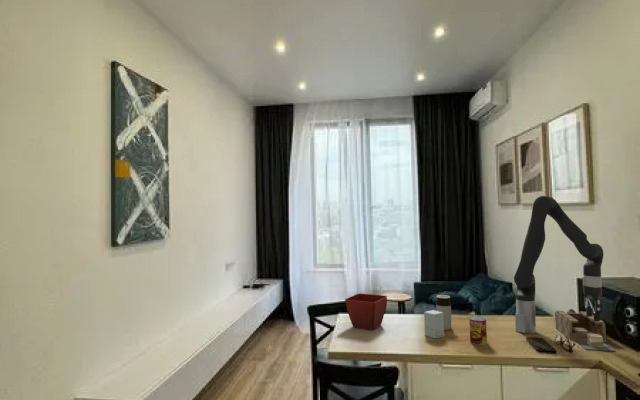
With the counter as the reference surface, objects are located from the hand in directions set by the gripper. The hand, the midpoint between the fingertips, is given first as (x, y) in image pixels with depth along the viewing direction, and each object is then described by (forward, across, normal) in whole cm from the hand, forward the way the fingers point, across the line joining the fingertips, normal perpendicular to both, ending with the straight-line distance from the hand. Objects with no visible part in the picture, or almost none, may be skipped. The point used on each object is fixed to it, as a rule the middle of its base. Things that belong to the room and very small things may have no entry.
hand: (592, 318), depth 186 cm
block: (+13, 0, +1) cm, 13 cm away
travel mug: (+15, -18, -68) cm, 72 cm away
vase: (+14, -38, +4) cm, 41 cm away
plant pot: (+16, -13, -111) cm, 113 cm away
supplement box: (+15, -2, -74) cm, 75 cm away
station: (+13, -11, +1) cm, 17 cm away
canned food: (+15, +5, -52) cm, 55 cm away
